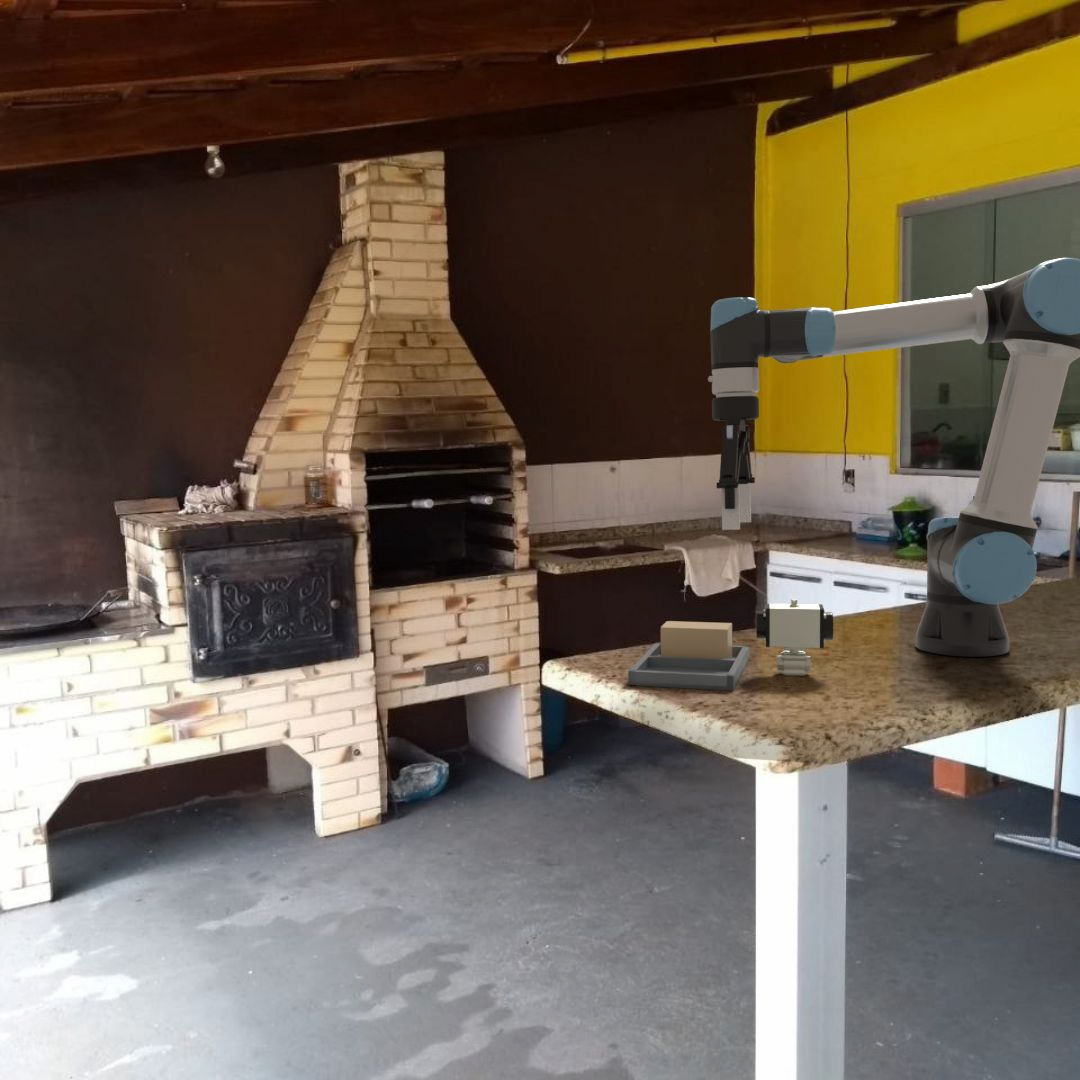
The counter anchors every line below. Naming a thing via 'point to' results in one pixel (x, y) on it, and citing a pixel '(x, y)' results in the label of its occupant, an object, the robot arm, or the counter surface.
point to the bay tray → (692, 658)
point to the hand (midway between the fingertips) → (737, 526)
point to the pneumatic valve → (794, 633)
